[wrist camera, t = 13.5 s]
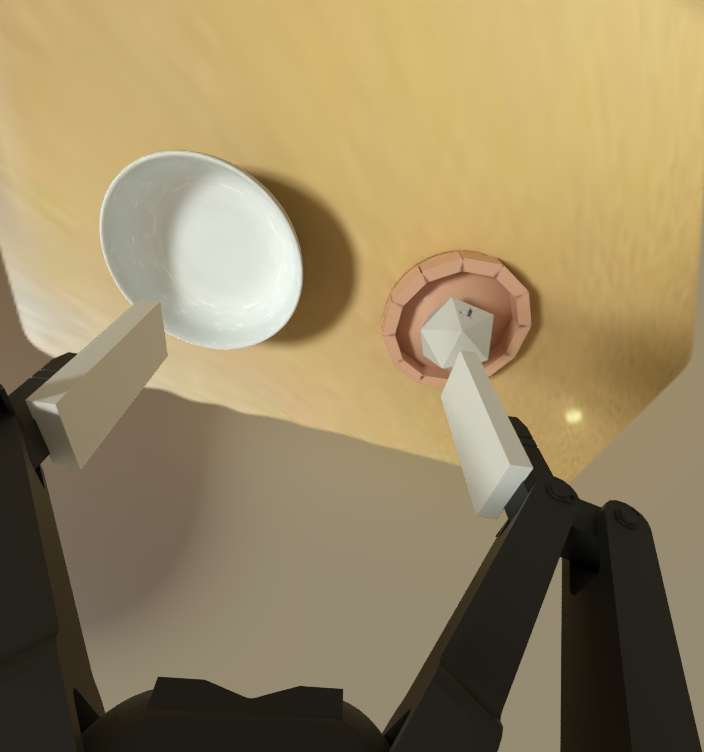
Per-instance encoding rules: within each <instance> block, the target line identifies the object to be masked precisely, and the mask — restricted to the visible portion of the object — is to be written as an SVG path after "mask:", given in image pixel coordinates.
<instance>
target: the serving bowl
mask: <svg viewBox="0 0 704 752" xmlns="http://www.w3.org/2000/svg"><path fill="white" fill-rule="evenodd" d="M99 229H100V240H101V246H102V251H103V255H104V258H105V261H106V264H107V266H108V269H109V271H110V273H111V275H112V277H113V279H114V281H115V283H116V284H117V286H118V288H119V289H120V291H121V292H122V293H123V295H124V296H125V297H126V299H127V300H128V301H129V302H130V303H131V305H132V306H133V305H134V304H135V303H136V302H137V301H138V300H140V299H141V298H145V299H151V300H157V301H160V302H161V310H162V317H163V324H164V332H166V333H167V334H169V335H171V336H173V337H175V338H177V339H179V340H182V341H184V342H187V343H190V344H193V345H196V346H200V347H205V348H210V349H219V350H232V349H241V348H246V347H250V346H253V345H256V344H259V343H261V342H263V341H265V340H267V339H269V338H271V337H272V336H273V335H275V334H276V333H277V332H279V331H280V330H281V329H282V328H283V327H284V326H285V325H286V324H287V322H288V321H289V320H290V318H291V317H292V315H293V313H294V312H295V310H296V308H297V305H298V303H299V300H300V297H301V293H302V287H303V274H304V272H303V259H302V252H301V248H300V244H299V240H298V237H297V234H296V232H295V229H294V227H293V225H292V223H291V221H290V219H289V217H288V215H287V213H286V212H285V210H284V209H283V207H282V206H281V204H280V203H279V202H278V200H277V199H276V198H275V197H274V196H273V194H272V193H271V192H270V191H269V190H268V189H267V188H266V187H265V186H264V185H263V184H262V183H260V182H259V181H258V180H257V179H256V178H254V177H253V176H252V175H250V174H249V173H247V172H246V171H244V170H243V169H241V168H239V167H238V166H236V165H234V164H232V163H230V162H228V161H225V160H223V159H220V158H218V157H215V156H211V155H208V154H203V153H199V152H193V151H184V150H169V151H161V152H156V153H152V154H149V155H146V156H144V157H141V158H139V159H137V160H136V161H134V162H132V163H131V164H129V165H128V166H126V167H125V168H124V169H123V170H122V171H121V172H120V173H119V174H118V175H117V176H116V177H115V179H114V180H113V181H112V183H111V185H110V186H109V188H108V190H107V192H106V194H105V197H104V200H103V203H102V207H101V212H100V222H99Z"/></svg>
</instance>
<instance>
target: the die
mask: <svg viewBox="0 0 704 752" xmlns="http://www.w3.org/2000/svg"><path fill="white" fill-rule="evenodd" d="M493 318H494V315H493V314H491V313H488V312H486V311H484V310H481V309H479V308H477V307H474V306H472V305H470V304H467V303H465V302H463V301H460V300H458V299H456V298H453V297H451V298H449V299H448V300H447V301H446V302H444V303H443V304H442V305H441V306H439V307H438V308H437V309H436V310H434V311H433V312H432V313H431V314H429V315H428V317H427V319H426V321H425V322H424V324H423V326H422V328H421V330H420V331H421V340H422V349H423V355H424V356H425V357H426V358H428V359H429V360H431V361H432V362H434V363H435V364H436V365H438V366H439V367H441V368H442V369H447V370H452V369H453V366H454V364H455V362H456V359H457V357H458V354H459V352H460V350H462V351H468V352H474V353H477V355H478V357H479V359H480V361H481V363H483V362H485V361H487V360H488V356H489V349H490V341H491V333H492V326H493Z"/></svg>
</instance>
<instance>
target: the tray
mask: <svg viewBox="0 0 704 752" xmlns="http://www.w3.org/2000/svg"><path fill="white" fill-rule="evenodd" d="M451 297H453V298H456V299H458V300H460V301H463V302H465V303H467V304H470V305H472V306H474V307H477V308H479V309H481V310H484V311H486V312H488V313H491V314H493V315H494V318H493V326H492V333H491V341H490V349H489V356H488V360H487V361H485V362H483V363H482V365H483V367H484V369H485V371H486V373H487V375H488V377H489V376H491V375H492V374H493V373H495V372H496V371H497V370H499V369H500V368H501V367H503V366H504V365H505V364H507V363H508V362H509V361H511V360H512V359H513V358H514V357H515V356H516V354H517V352H518V350H519V348H520V347H521V345H522V343H523V341H524V339H525V337H526V335H527V333H528V331H529V329H530V328H531V326H530V325H531V313H530V301H529V292H528V290H527V289H526V288H525V287H524V286H523V285H522V284H521V283H520V282H519V281H518V280H517V279H516V277H515V276H514V275H513V274H512V273H511V272H510V271H509V270H508V269H507V268H506V267H505V266H504V265H503V264H502V263H501V262H500V261H499V260H498V259H497V258H494V257H490V256H488V255H485V254H482V253H479V252H474V251H450V252H445V253H441V254H437V255H435V256H432V257H430V258H427V259H425V260H424V261H422V262H420V263H418V264H417V265H415V266H414V267H413V268H411V269H410V270H409V271H408V272H407V273H405V274H404V275H403V276H402V278H401V279H400V280H399V281H398V282H397V283H396V285H395V287H394V288H393V290H392V291H391V293H390V295H389V297H388V300H387V303H386V306H385V310H384V319H383V322H382V334H383V338H384V341H385V344H386V347H387V350H388V352H389V355H390V358H391V361H392V364H393V365H394V366H395V367H396V368H398V369H399V370H400V371H402V372H403V373H404V374H406V375H407V376H408V377H410V378H411V379H412V380H414V381H415V382H416V383H418V384H423V385H430V386H437V387H443V388H445V386H446V383H447V381H448V378H449V376H450V374H451V371H452V370H447V369H442V368H441V367H439V366H438V365H436V364H435V363H434V362H432V361H431V360H429V359H428V358H426V357H425V356H424V355H423V349H422V340H421V331H420V330H421V328H422V326H423V324H424V322H425V321H426V319H427V317H428V315H429V314H431V313H432V312H433V311H434V310H436V309H437V308H438V307H439V306H441V305H442V304H443V303H444V302H446V301H447V300H448V299H449V298H451ZM513 356H514V357H513Z"/></svg>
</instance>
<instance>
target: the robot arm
mask: <svg viewBox="0 0 704 752" xmlns="http://www.w3.org/2000/svg"><path fill="white" fill-rule="evenodd" d="M167 356H168V354H167V347H166V339H165V332H164V324H163V317H162V310H161V302H160V301H157V300H151V299H145V298H141V299H140V300H138V301H137V302H136V303H135V304H134V305H133V306H132V307H130V308H129V309H128V310H127V311H126V312H125V313H124V314H123V315H121V316H120V317H119V318H118V319H117V320H116V321H115V322H113V323H112V324H111V325H110V326H109V327H108V328H107V329H105V330H104V331H103V332H102V333H101V334H100V335H99V336H98V337H96V338H95V339H94V340H93V341H92V342H91V343H90V344H88V345H87V346H86V347H85V348H84V349H83V350H82V351H80V352H79V353H78V354H76V353H70V352H68V353H66V354H64V355H61V356H59V357H57V358H55V359H52V360H51V361H50V362H49V363H47V365H45V366H44V367H43V368H41V371H38V372H37V373H35V374H34V375H33V376H32V378H29V379H28V380H27V381H26V382H24V383H23V384H22V385H21V386H20V387H18V388H17V389H16V390H15V391H14V392H12V393H11V394H10V395H9V396H8V395H7V393H6V391H5V389H4V388H3V386H2V385H1V384H0V752H497V751H498V748H499V745H500V741H501V738H502V732H503V726H502V724H501V721H500V719H501V713H502V710H503V707H504V704H505V702H506V699H507V697H508V694H509V691H510V688H511V685H512V683H513V680H514V678H515V675H516V672H517V670H518V667H519V664H520V662H521V659H522V657H523V654H524V651H525V648H526V646H527V643H528V640H529V638H530V635H531V632H532V630H533V627H534V624H535V622H536V619H537V616H538V614H539V611H540V608H541V605H542V603H543V600H544V598H545V595H546V592H547V590H548V587H549V584H550V582H551V579H552V576H553V574H554V571H555V568H556V566H557V563H558V560H559V558H560V557H561V558H562V633H561V635H562V636H561V749H560V751H561V752H702V750H701V745H700V741H699V737H698V733H697V728H696V724H695V719H694V715H693V711H692V706H691V702H690V697H689V694H688V689H687V685H686V680H685V676H684V671H683V667H682V662H681V658H680V654H679V650H678V645H677V641H676V636H675V632H674V628H673V623H672V619H671V615H670V611H669V606H668V602H667V597H666V593H665V589H664V584H663V580H662V576H661V571H660V567H659V562H658V558H657V553H656V549H655V545H654V540H653V536H652V532H651V528H650V526H649V524H648V522H647V521H646V520H645V518H644V517H643V516H642V515H641V514H640V513H639V512H638V511H636V510H635V509H634V508H633V507H631V506H629V505H627V504H626V503H623V502H620V501H617V500H613V501H612V500H610V501H608V502H607V503H606V504H605V505H604V506H603V507H602V508H601V507H598V506H596V505H593V504H591V503H588V502H586V501H583V500H581V499H579V498H578V496H577V494H576V492H575V491H574V490H573V489H572V488H571V486H570V485H568V484H567V483H566V482H564V481H563V480H561V479H559V478H557V477H554V476H553V475H552V473H551V471H550V469H549V467H548V465H547V463H546V462H545V460H544V458H543V456H542V454H541V452H540V450H539V449H538V448H537V445H536V443H535V441H534V440H533V439H532V438H533V437H532V436H531V434H530V432H529V430H528V428H527V427H526V426H525V425H524V424H523V423H522V422H521V421H520V420H519V419H518V418H517V417H510V416H507V414H506V412H505V410H504V408H503V406H502V404H501V402H500V400H499V398H498V396H497V394H496V392H495V390H494V388H493V385H492V383H491V381H490V379H489V377H488V375H487V373H486V371H485V369H484V367H483V365H482V363H481V361H480V359H479V357H478V355H477V353H474V352H468V351H462V350H460V352H459V354H458V357H457V359H456V362H455V364H454V366H453V369H452V371H451V374H450V376H449V378H448V381H447V383H446V386H445V388H444V390H443V393H442V395H441V399H442V402H443V406H444V409H445V412H446V416H447V419H448V422H449V426H450V429H451V433H452V436H453V439H454V443H455V446H456V449H457V453H458V456H459V459H460V463H461V466H462V470H463V473H464V476H465V480H466V483H467V486H468V490H469V493H470V497H471V500H472V503H473V507H474V510H475V513H476V517H485V518H494V519H497V518H498V517H499V516H500V514H501V513H502V511H503V510H504V509H505V511H506V514H507V517H508V520H507V521H506V523H505V524H504V526H503V527H502V528H501V530H500V531H499V532H498V534H497V535H496V537H497V538H496V540H495V542H494V543H493V545H492V547H491V549H490V550H489V552H488V554H487V556H486V557H485V559H484V561H483V562H482V564H481V566H480V568H479V569H478V571H477V573H476V575H475V576H474V578H473V580H472V582H471V583H470V585H469V587H468V589H467V590H466V592H465V594H464V596H463V597H462V599H461V601H460V602H459V604H458V606H457V608H456V609H455V611H454V613H453V615H452V616H451V618H450V620H449V622H448V624H447V625H446V627H445V629H444V631H443V632H442V634H441V636H440V638H439V639H438V641H437V643H436V644H435V646H434V648H433V650H432V651H431V653H430V655H429V657H428V658H427V660H426V662H425V663H424V665H423V667H422V669H421V670H420V672H419V674H418V676H417V677H416V679H415V681H414V683H413V684H412V686H411V688H410V690H409V691H408V693H407V695H406V696H405V698H404V700H403V701H402V703H401V704H400V705H399V707H398V709H397V710H396V711H395V713H394V715H393V716H392V718H391V719H390V721H389V723H388V724H387V726H386V728H385V730H384V731H383V733H381V732H380V731H379V729H378V728H377V727H376V725H375V724H374V723H373V722H372V721H371V720H370V719H369V718H368V717H367V716H366V715H365V714H363V713H362V712H361V711H360V710H359V709H357V708H355V707H354V706H352V705H351V704H349V703H347V702H345V701H343V689H334V688H319V687H304V686H298V687H294V688H291V689H287V690H283V691H279V692H275V693H272V694H268V695H264V696H261V697H257V698H246V697H243V696H241V695H239V694H236V693H234V692H232V691H230V690H227V689H225V688H223V687H220V686H218V685H216V684H213V683H211V682H209V681H206V680H199V679H184V678H168V677H158V678H157V681H156V684H155V687H154V689H153V690H149V691H146V692H143V693H141V694H138V695H135V696H133V697H131V698H129V699H127V700H125V701H124V702H122V703H120V704H118V705H117V706H115V707H114V708H112V709H111V710H109V711H108V712H106V713H105V711H104V707H103V703H102V700H101V697H100V694H99V691H98V689H97V686H96V684H95V681H94V678H93V675H92V672H91V667H90V663H89V659H88V655H87V651H86V647H85V642H84V638H83V635H82V630H81V626H80V622H79V618H78V613H77V609H76V606H75V601H74V597H73V592H72V588H71V584H70V580H69V576H68V572H67V567H66V563H65V559H64V555H63V551H62V547H61V542H60V539H59V534H58V530H57V526H56V521H55V517H54V513H53V509H52V505H51V501H50V497H49V492H48V489H47V484H46V480H45V476H44V472H43V469H42V467H41V465H40V464H41V463H42V462H43V460H45V458H46V457H47V456H48V455H50V457H51V460H52V462H53V464H54V466H55V467H60V468H68V469H77V470H81V469H82V467H83V466H84V465H85V463H86V462H87V461H88V459H89V458H90V457H91V456H92V454H93V453H94V452H95V450H96V449H97V447H98V446H99V445H100V444H101V442H102V441H103V440H104V439H105V437H106V436H107V435H108V433H109V432H110V431H111V429H112V428H113V427H114V425H115V424H116V423H117V421H118V420H119V419H120V418H121V416H122V415H123V414H124V412H125V411H126V410H127V408H128V407H129V406H130V404H131V403H132V402H133V400H134V399H135V398H136V396H137V395H138V394H139V393H140V391H141V390H142V389H143V387H144V386H145V385H146V383H147V382H148V381H149V380H150V378H151V377H152V376H153V374H154V373H155V372H156V370H157V369H158V368H159V366H160V365H161V364H162V363H163V361H164V360H165V359H166V357H167Z"/></svg>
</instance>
